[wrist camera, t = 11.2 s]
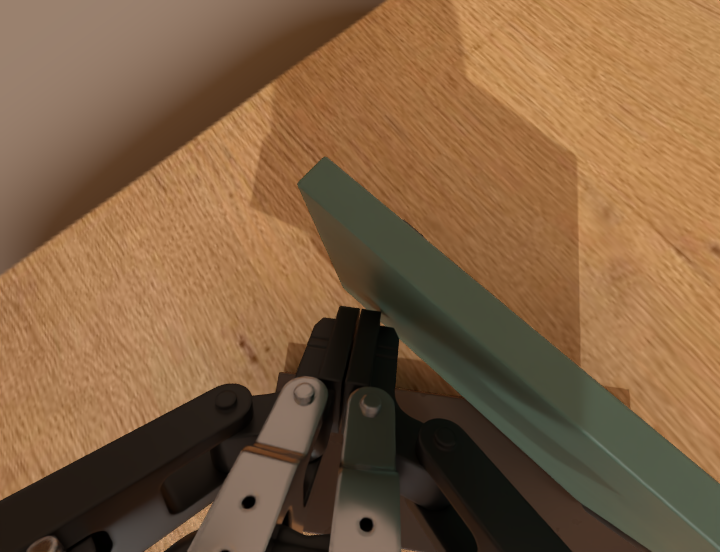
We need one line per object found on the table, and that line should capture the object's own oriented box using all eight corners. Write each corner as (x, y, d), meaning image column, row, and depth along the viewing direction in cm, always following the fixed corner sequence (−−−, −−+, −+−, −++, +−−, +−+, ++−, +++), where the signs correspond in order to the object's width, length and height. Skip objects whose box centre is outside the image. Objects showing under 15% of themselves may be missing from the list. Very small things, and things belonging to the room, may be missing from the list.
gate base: (259, 513, 16) (252, 523, 15) (284, 371, 18) (278, 372, 17) (634, 578, 15) (651, 592, 14) (632, 421, 17) (648, 425, 16)
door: (340, 288, 17) (290, 186, 7) (372, 254, 17) (367, 111, 7) (595, 521, 14) (1056, 854, 5) (628, 476, 15) (1126, 703, 5)
